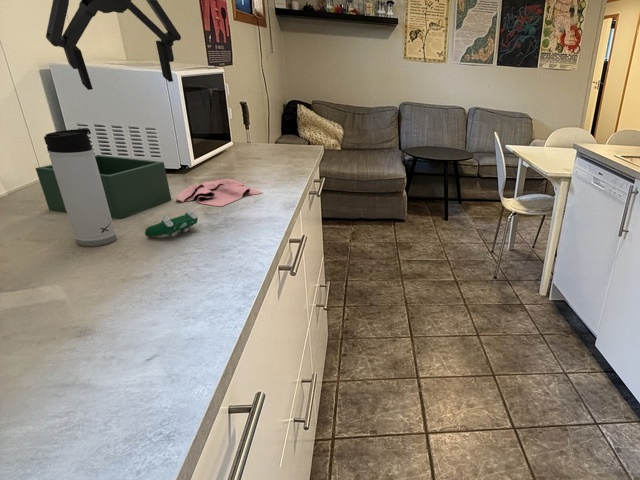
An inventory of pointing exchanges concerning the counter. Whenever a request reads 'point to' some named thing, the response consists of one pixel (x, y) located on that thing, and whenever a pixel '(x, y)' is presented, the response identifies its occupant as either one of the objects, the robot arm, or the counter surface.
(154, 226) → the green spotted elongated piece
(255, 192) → the cloth
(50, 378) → the counter surface
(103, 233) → the travel mug
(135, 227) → the counter surface
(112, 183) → the tote
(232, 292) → the counter surface
